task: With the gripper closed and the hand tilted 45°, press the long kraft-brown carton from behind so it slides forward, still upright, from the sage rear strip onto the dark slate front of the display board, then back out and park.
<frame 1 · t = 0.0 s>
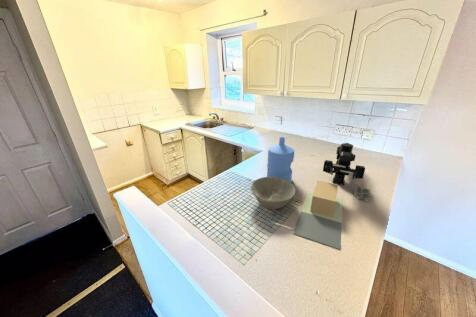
hand: (342, 176, 94), 17 cm above the countertop, tool horizontal, fingers open, 9 cm apart
kraft carton: (322, 205, 99), resting on display board
display board: (320, 214, 93), on the countertop
egg carton: (361, 196, 107), on the countertop
ceramic bowl: (271, 203, 102), on the countertop
water jug: (278, 179, 125), on the countertop
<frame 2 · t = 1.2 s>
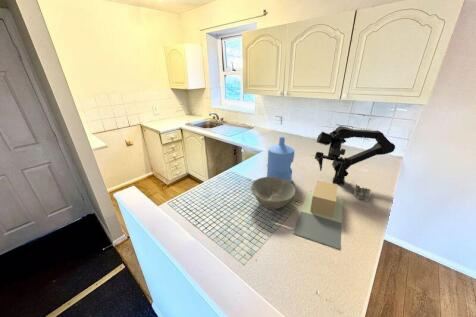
hand: (329, 173, 108), 11 cm above the countertop, tool tilted 40°, fingers open, 9 cm apart
nothing on the countertop moved.
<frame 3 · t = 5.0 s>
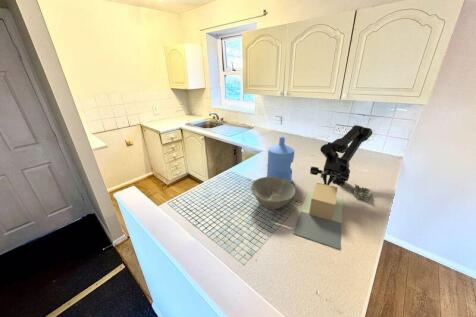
hand: (325, 188, 102), 7 cm above the countertop, tool tilted 45°, fingers closed, pressing on kraft carton
kraft carton: (322, 207, 97), resting on display board, touching gripper
everything else where it was.
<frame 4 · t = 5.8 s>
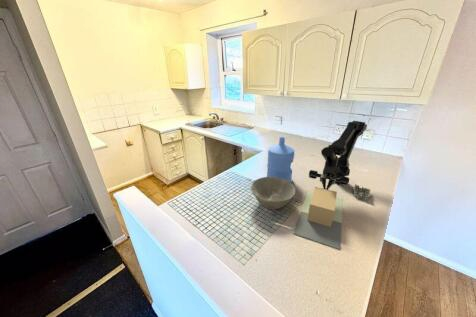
hand: (324, 193, 98), 7 cm above the countertop, tool tilted 45°, fingers closed, pressing on kraft carton
kraft carton: (320, 213, 94), resting on display board, touching gripper
everything else where it was.
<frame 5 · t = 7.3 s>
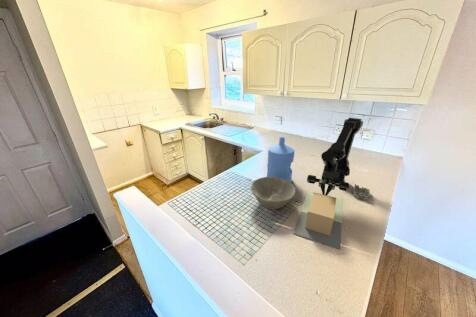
hand: (323, 199, 93), 7 cm above the countertop, tool tilted 45°, fingers closed, pressing on kraft carton
kraft carton: (319, 220, 89), resting on display board, touching gripper
everything else where it was.
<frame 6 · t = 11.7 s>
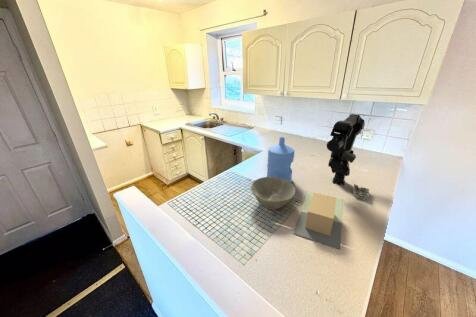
hand: (333, 172, 107), 12 cm above the countertop, tool pointing down, fingers closed
kraft carton: (319, 220, 89), resting on display board
everything else where it was.
at the end: kraft carton inside the target area (2.1 cm from its centre), resting on display board; kraft carton tilted 0°; the gripper is holding nothing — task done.
